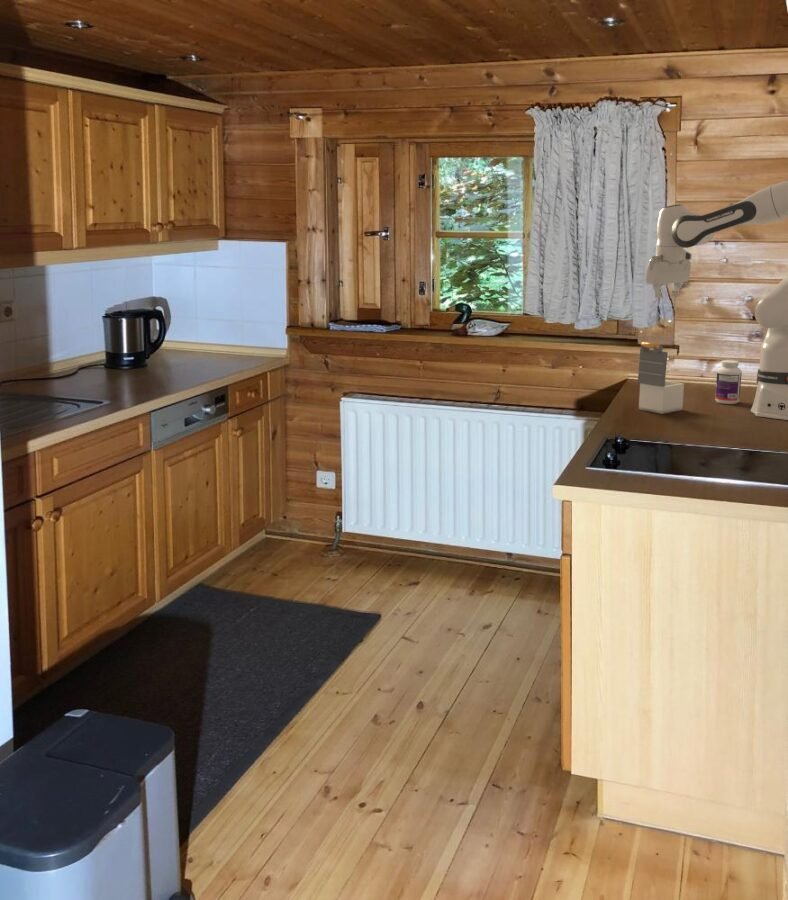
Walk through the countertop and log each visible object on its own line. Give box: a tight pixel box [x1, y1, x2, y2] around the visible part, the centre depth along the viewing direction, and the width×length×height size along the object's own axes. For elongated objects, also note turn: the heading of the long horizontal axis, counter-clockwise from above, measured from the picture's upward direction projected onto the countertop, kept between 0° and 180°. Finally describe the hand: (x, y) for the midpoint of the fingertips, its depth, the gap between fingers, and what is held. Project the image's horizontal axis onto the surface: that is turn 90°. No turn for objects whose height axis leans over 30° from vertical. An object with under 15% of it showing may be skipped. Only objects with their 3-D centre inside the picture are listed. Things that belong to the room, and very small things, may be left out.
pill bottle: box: [714, 359, 742, 405], centre depth 362 cm, size 8×8×14 cm
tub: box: [638, 380, 685, 415], centre depth 351 cm, size 9×11×9 cm
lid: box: [637, 341, 668, 387], centre depth 344 cm, size 14×10×4 cm
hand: (666, 297), depth 353 cm, fingers open, 8 cm apart
